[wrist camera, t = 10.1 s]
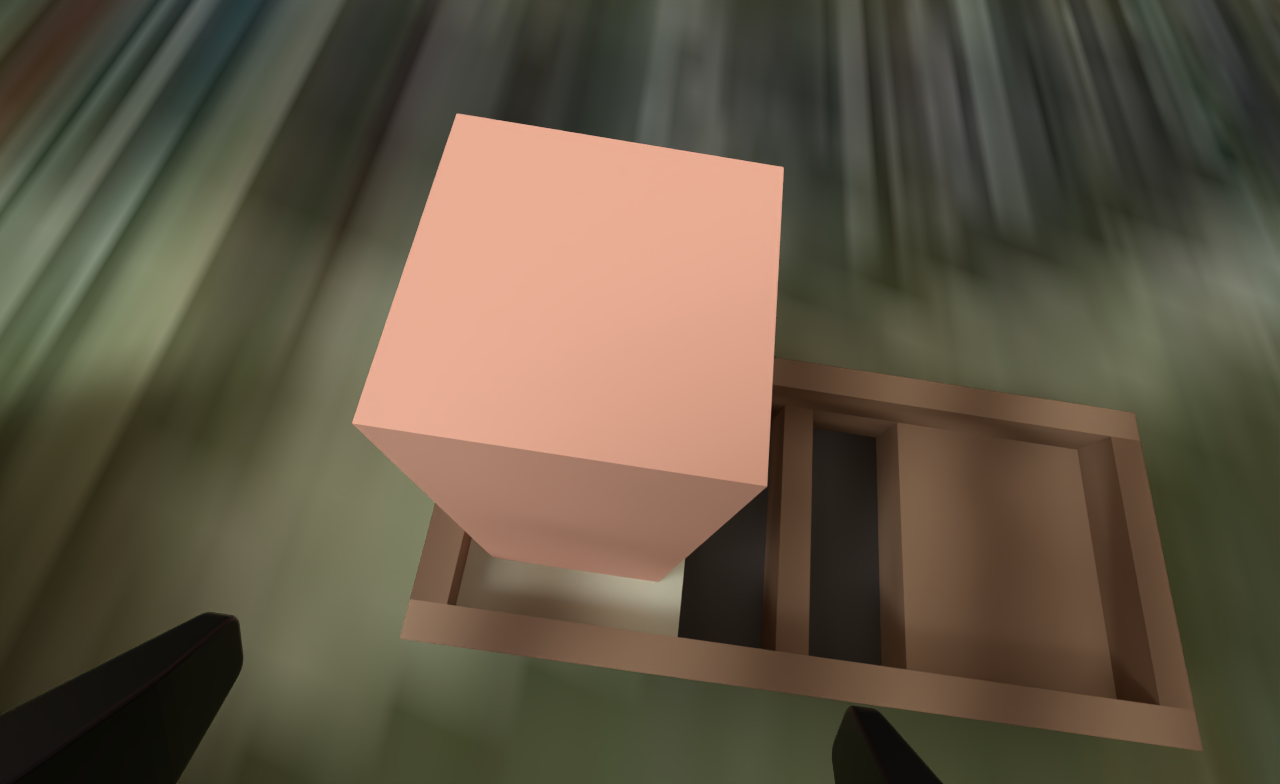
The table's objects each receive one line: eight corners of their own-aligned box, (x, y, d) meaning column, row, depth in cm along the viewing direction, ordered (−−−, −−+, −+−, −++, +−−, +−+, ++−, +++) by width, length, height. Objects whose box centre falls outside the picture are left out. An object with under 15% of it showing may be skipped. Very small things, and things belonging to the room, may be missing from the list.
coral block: (676, 427, 20) (783, 167, 9) (658, 582, 18) (767, 486, 7) (527, 404, 20) (456, 112, 9) (492, 557, 18) (351, 423, 7)
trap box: (1060, 444, 24) (1134, 413, 21) (1103, 734, 20) (1203, 751, 17) (499, 358, 23) (485, 312, 20) (430, 640, 19) (399, 638, 16)
